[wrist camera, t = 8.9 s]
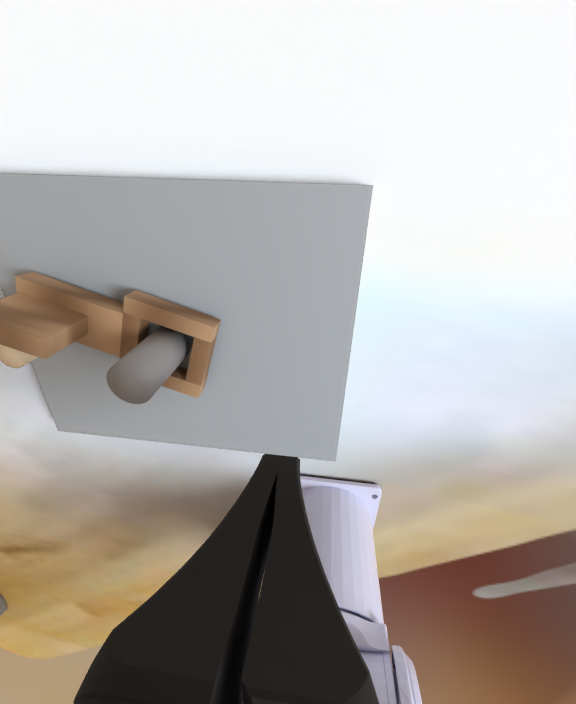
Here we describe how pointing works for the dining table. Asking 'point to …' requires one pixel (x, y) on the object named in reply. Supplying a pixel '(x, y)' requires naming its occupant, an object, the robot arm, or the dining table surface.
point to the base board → (198, 303)
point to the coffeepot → (2, 605)
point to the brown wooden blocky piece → (101, 325)
